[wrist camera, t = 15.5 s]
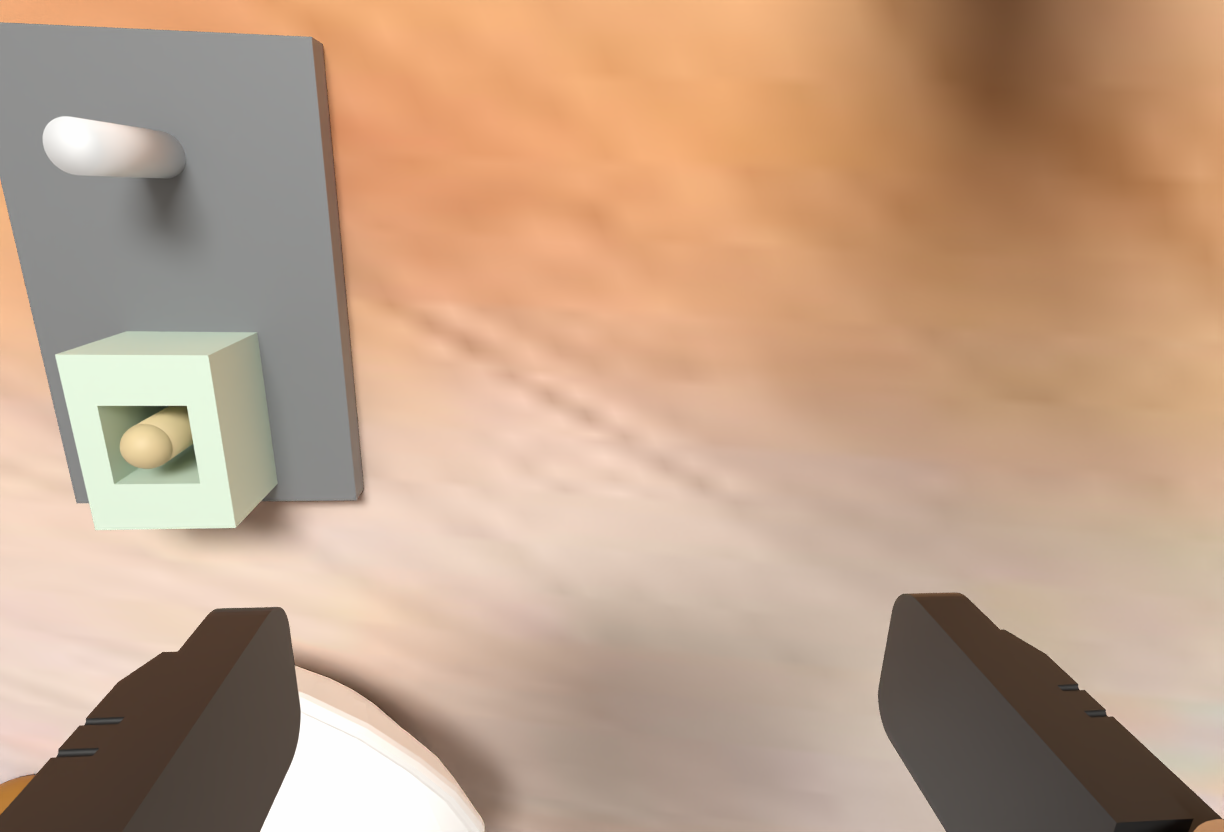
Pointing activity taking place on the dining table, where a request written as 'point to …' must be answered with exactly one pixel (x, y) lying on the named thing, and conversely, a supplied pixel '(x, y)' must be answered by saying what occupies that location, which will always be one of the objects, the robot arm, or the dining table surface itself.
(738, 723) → the dining table surface
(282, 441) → the board
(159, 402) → the collar
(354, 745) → the bowl
